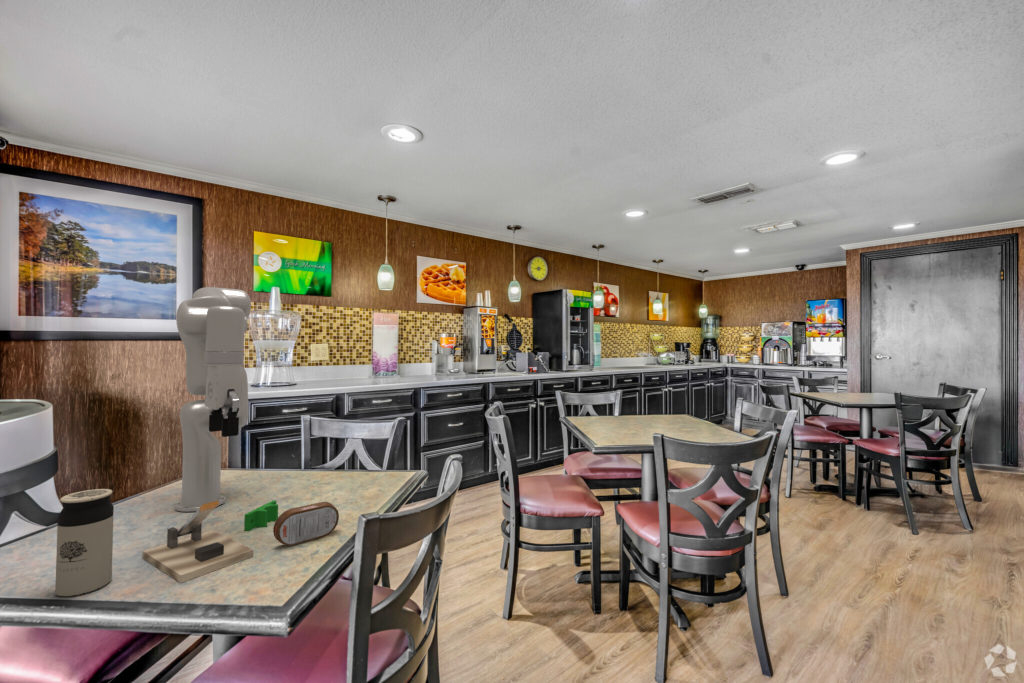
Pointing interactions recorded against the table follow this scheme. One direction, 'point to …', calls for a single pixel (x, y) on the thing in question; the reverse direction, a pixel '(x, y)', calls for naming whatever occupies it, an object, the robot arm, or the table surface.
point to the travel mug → (84, 542)
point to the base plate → (187, 554)
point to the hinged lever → (197, 518)
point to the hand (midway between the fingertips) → (223, 433)
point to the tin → (306, 523)
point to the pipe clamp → (261, 516)
